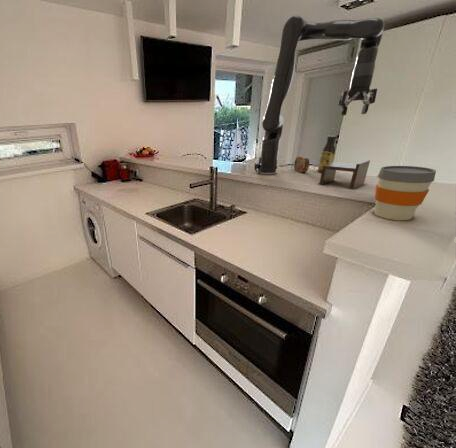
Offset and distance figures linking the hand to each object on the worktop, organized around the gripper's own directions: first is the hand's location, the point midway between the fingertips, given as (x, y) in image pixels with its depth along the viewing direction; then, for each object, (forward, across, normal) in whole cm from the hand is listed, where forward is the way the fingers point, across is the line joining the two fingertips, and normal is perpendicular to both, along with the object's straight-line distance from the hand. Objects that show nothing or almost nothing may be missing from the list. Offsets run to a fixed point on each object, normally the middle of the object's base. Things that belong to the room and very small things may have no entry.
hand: (353, 114), depth 116 cm
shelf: (+30, +5, +12) cm, 33 cm away
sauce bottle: (+31, -1, -17) cm, 35 cm away
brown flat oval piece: (+31, +10, -22) cm, 39 cm away
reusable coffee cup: (+30, +12, +53) cm, 63 cm away
